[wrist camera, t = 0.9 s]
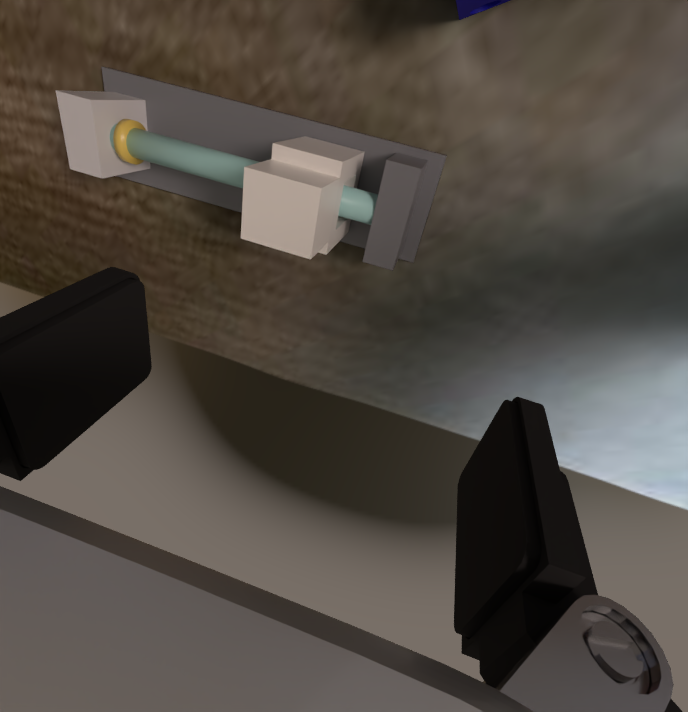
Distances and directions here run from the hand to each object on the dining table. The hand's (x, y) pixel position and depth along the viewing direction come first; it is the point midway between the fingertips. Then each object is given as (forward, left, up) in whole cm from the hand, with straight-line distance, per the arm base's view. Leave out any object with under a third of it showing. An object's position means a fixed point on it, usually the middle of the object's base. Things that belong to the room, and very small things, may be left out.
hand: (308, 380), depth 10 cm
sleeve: (+6, 0, -20) cm, 21 cm away
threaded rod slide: (+11, 0, -21) cm, 23 cm away
